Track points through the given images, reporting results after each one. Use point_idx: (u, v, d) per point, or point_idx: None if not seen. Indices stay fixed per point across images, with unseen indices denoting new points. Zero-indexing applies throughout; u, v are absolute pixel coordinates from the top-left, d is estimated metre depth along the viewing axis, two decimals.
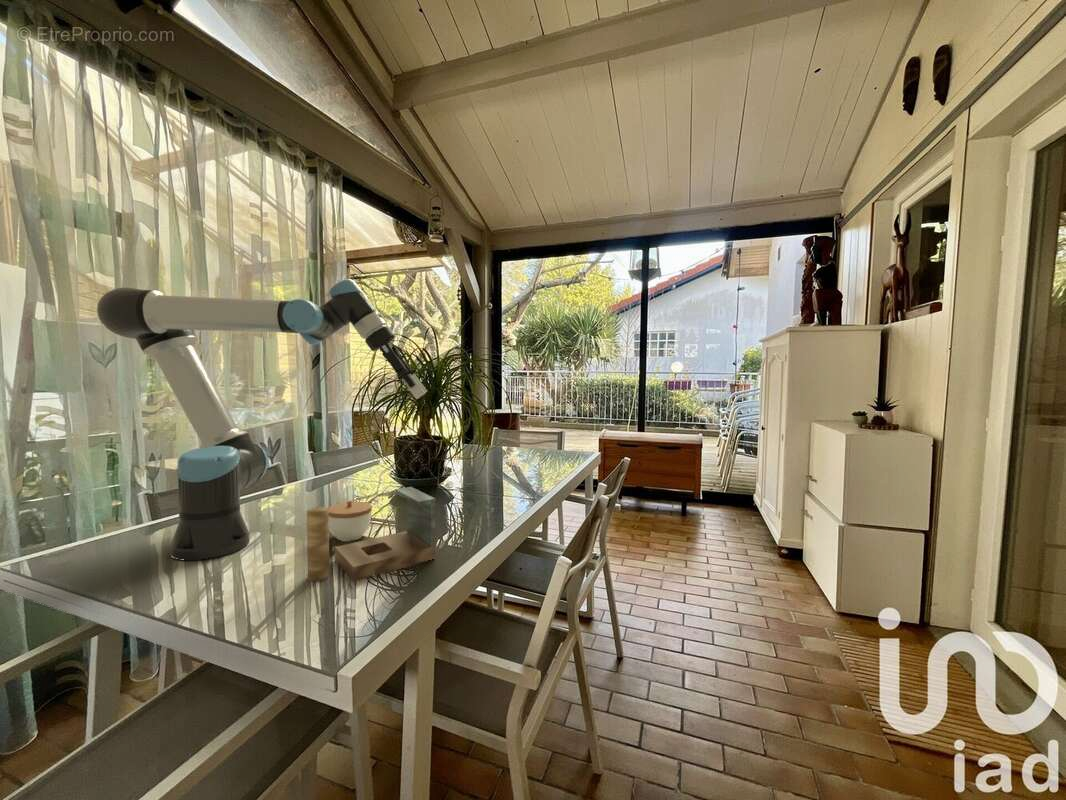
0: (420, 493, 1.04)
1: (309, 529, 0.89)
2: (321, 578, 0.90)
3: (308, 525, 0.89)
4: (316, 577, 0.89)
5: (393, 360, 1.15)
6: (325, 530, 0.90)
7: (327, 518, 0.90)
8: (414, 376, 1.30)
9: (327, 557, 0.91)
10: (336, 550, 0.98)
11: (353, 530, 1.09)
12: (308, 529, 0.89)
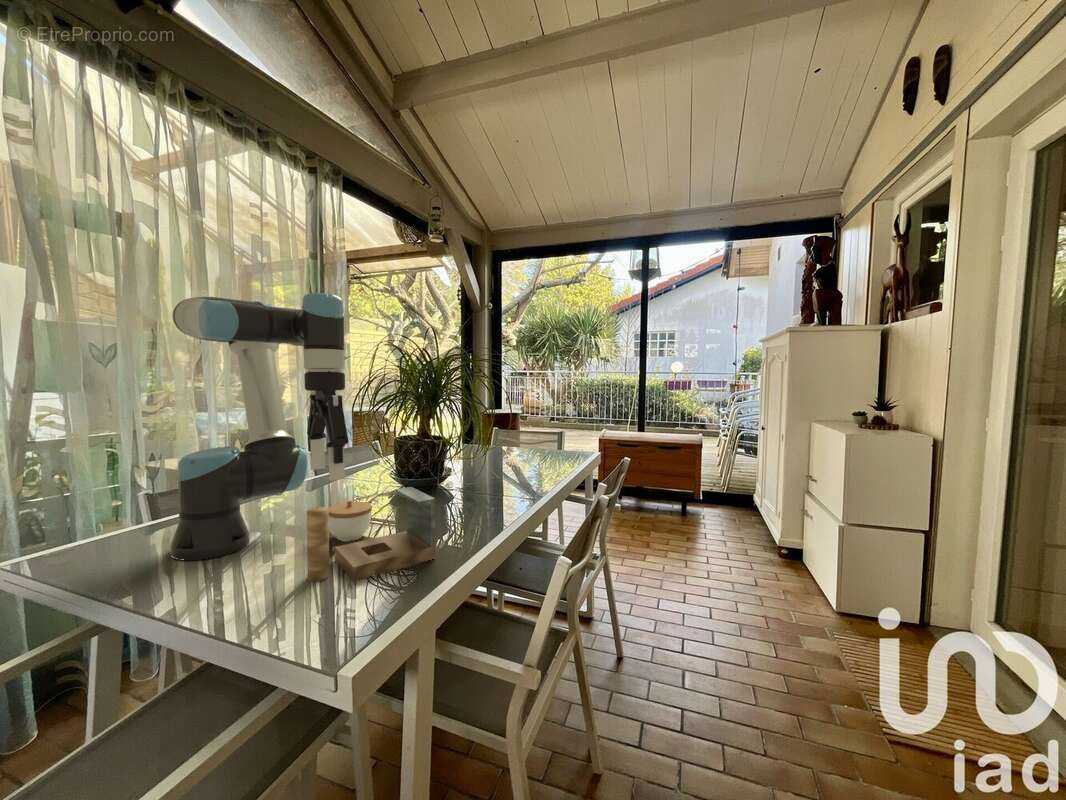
0: (420, 493, 1.04)
1: (309, 529, 0.89)
2: (321, 578, 0.90)
3: (308, 525, 0.89)
4: (316, 577, 0.89)
5: (338, 420, 0.85)
6: (325, 530, 0.90)
7: (327, 518, 0.90)
8: (322, 442, 0.97)
9: (327, 557, 0.91)
10: (336, 550, 0.98)
11: (353, 530, 1.09)
12: (308, 529, 0.89)
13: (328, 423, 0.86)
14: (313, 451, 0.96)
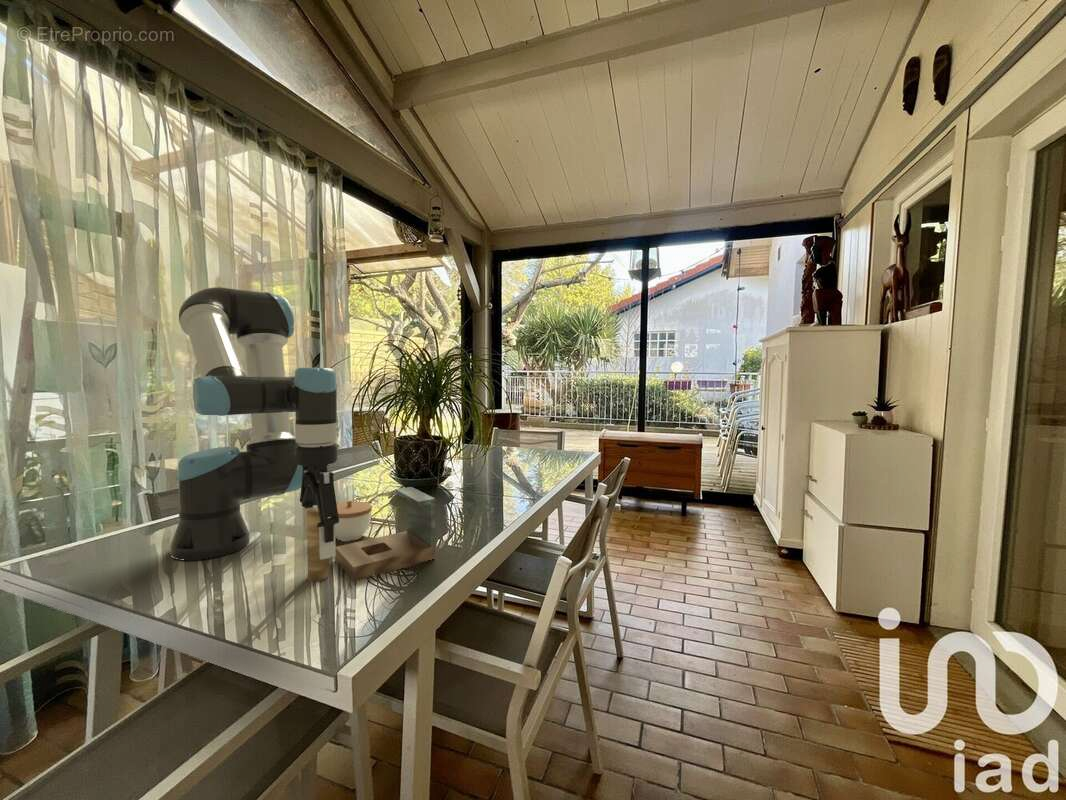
0: (420, 493, 1.04)
1: (309, 529, 0.89)
2: (321, 578, 0.90)
3: (308, 525, 0.89)
4: (316, 577, 0.89)
5: (329, 499, 0.84)
6: None
7: (327, 518, 0.90)
8: None
9: None
10: (336, 550, 0.98)
11: (353, 530, 1.09)
12: (308, 529, 0.89)
13: (319, 500, 0.85)
14: (305, 520, 0.95)
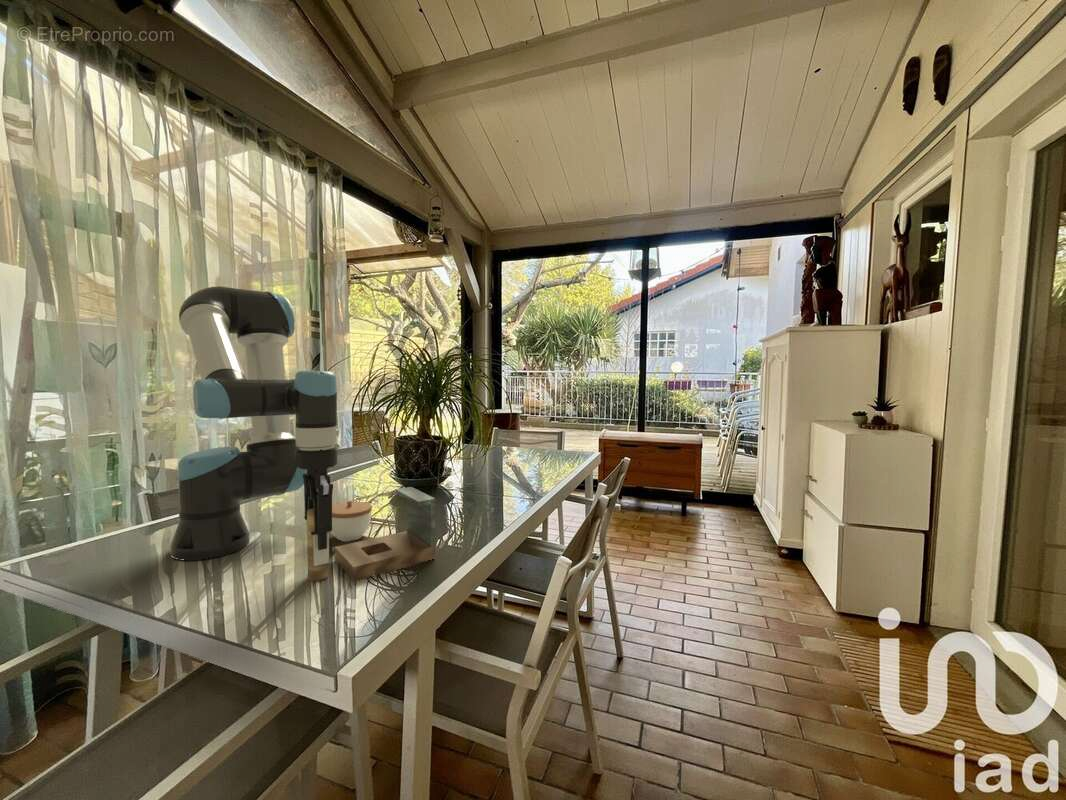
0: (420, 493, 1.04)
1: (309, 528, 0.89)
2: (321, 578, 0.90)
3: (308, 525, 0.89)
4: (316, 577, 0.89)
5: (325, 510, 0.86)
6: None
7: None
8: None
9: None
10: (336, 550, 0.98)
11: (353, 530, 1.09)
12: (308, 529, 0.89)
13: (316, 508, 0.87)
14: None
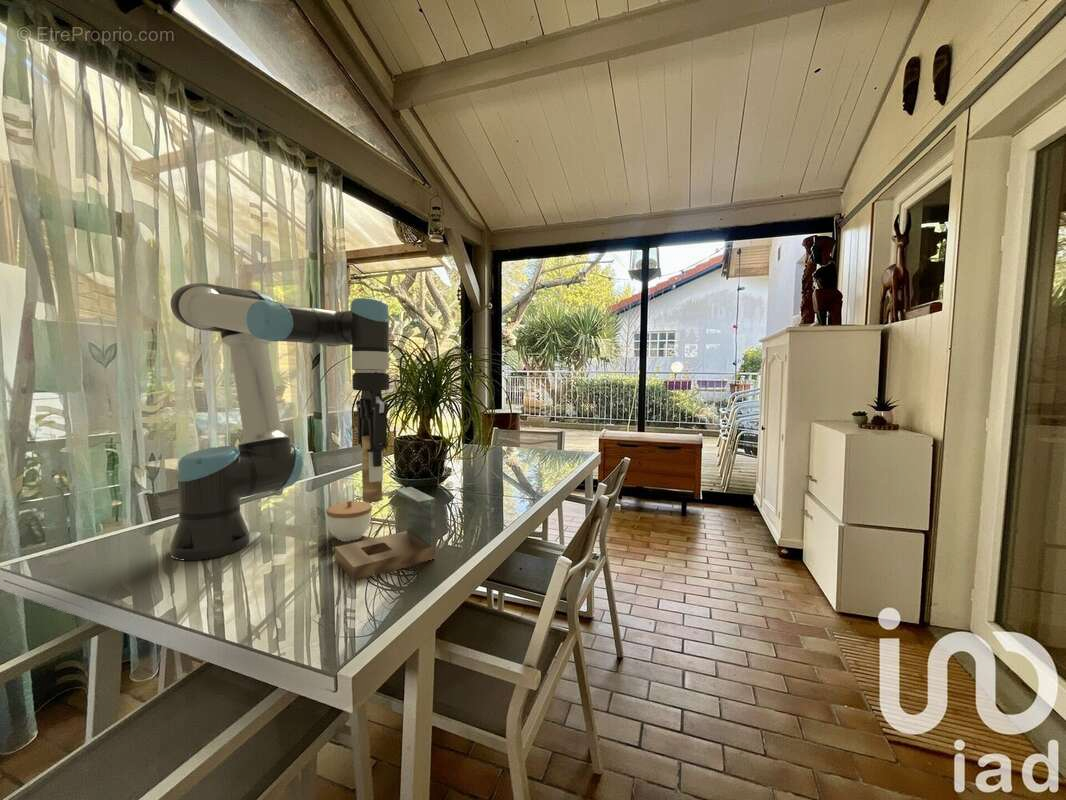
0: (420, 493, 1.04)
1: (365, 452, 0.95)
2: (375, 500, 0.95)
3: (363, 449, 0.95)
4: (371, 498, 0.95)
5: (381, 428, 0.92)
6: None
7: None
8: None
9: (380, 481, 0.97)
10: (336, 550, 0.98)
11: (353, 530, 1.09)
12: (363, 453, 0.95)
13: (371, 427, 0.93)
14: None
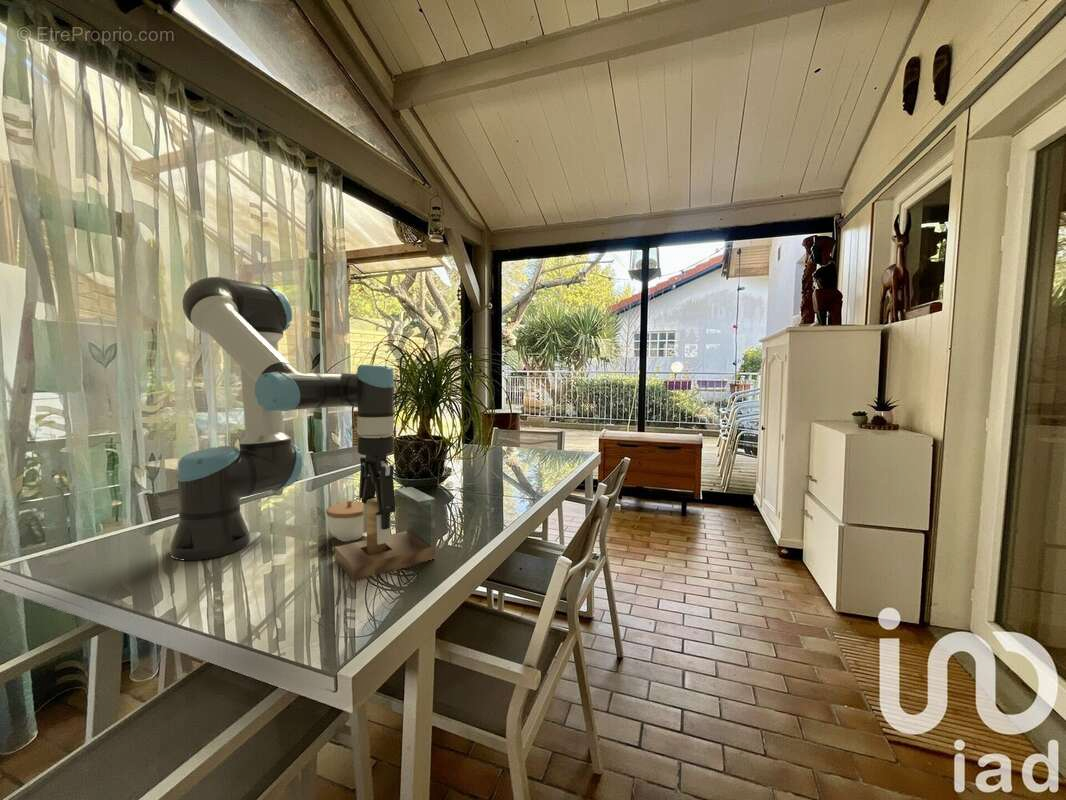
0: (420, 493, 1.04)
1: (369, 517, 0.96)
2: None
3: (368, 514, 0.96)
4: None
5: (388, 491, 0.92)
6: None
7: None
8: None
9: (384, 543, 0.98)
10: (336, 550, 0.98)
11: (353, 530, 1.09)
12: (368, 517, 0.97)
13: (378, 490, 0.94)
14: (365, 515, 1.01)
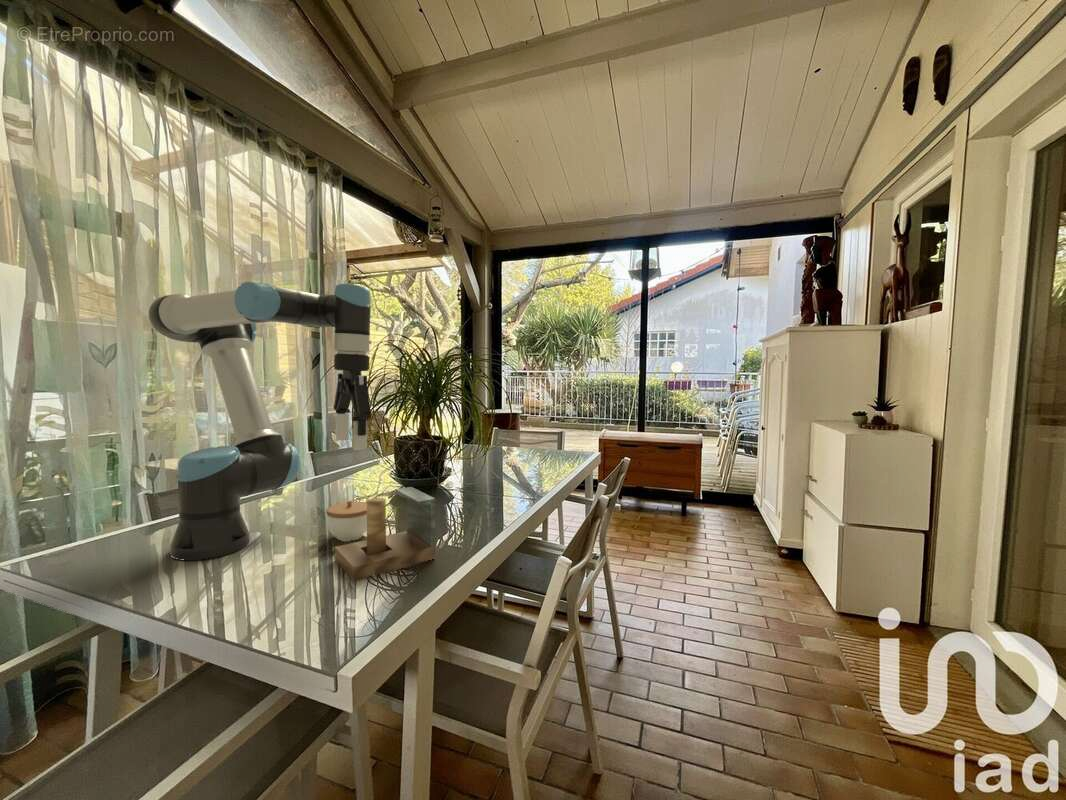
0: (420, 493, 1.04)
1: (369, 517, 0.96)
2: None
3: (368, 514, 0.96)
4: None
5: (363, 398, 0.96)
6: (383, 518, 0.98)
7: (385, 507, 0.98)
8: (347, 417, 1.08)
9: (384, 543, 0.98)
10: (336, 550, 0.98)
11: (353, 530, 1.09)
12: (368, 517, 0.97)
13: (354, 400, 0.98)
14: (338, 424, 1.07)
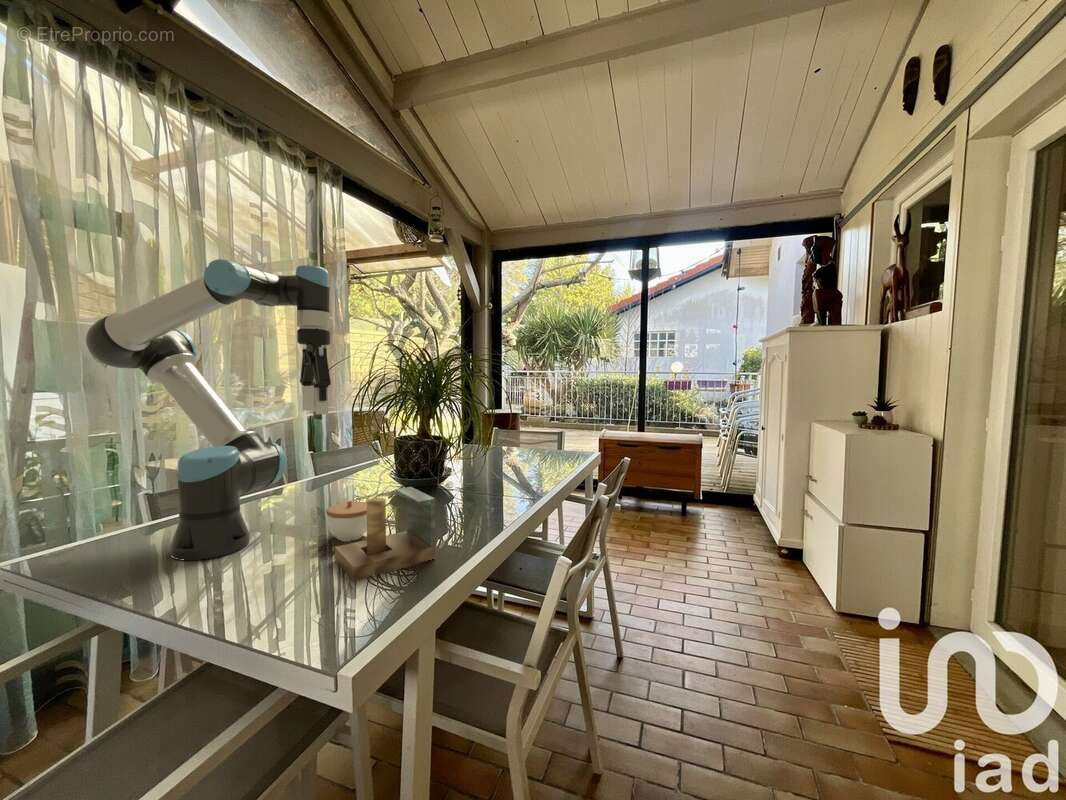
0: (420, 493, 1.04)
1: (369, 517, 0.96)
2: None
3: (368, 514, 0.96)
4: None
5: (322, 366, 1.07)
6: (383, 518, 0.98)
7: (385, 507, 0.98)
8: (312, 388, 1.19)
9: (384, 543, 0.98)
10: (336, 550, 0.98)
11: (353, 530, 1.09)
12: (368, 517, 0.97)
13: (315, 369, 1.09)
14: (304, 395, 1.18)
